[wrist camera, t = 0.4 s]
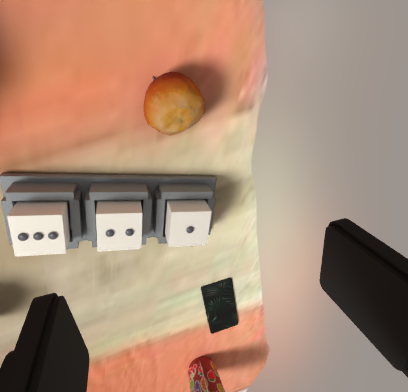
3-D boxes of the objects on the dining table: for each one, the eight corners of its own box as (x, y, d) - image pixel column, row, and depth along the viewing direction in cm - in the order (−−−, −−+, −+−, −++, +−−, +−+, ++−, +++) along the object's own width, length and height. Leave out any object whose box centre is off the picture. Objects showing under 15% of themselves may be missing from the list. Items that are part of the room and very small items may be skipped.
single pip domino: (167, 199, 43) (171, 212, 39) (204, 199, 45) (212, 211, 41) (164, 232, 45) (168, 248, 42) (200, 231, 47) (206, 245, 43)
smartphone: (231, 278, 59) (238, 324, 66) (230, 275, 60) (237, 321, 67) (200, 288, 58) (211, 334, 65) (199, 284, 59) (209, 330, 66)
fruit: (193, 52, 37) (211, 90, 33) (192, 100, 44) (207, 137, 40) (132, 59, 35) (143, 100, 32) (141, 108, 42) (151, 147, 38)
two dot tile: (97, 200, 40) (95, 214, 36) (140, 199, 42) (142, 213, 38) (99, 235, 42) (97, 252, 39) (139, 233, 44) (141, 249, 41)
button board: (2, 172, 39) (-11, 186, 35) (214, 176, 48) (222, 186, 44) (15, 239, 43) (5, 257, 39) (206, 230, 52) (213, 244, 48)
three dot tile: (17, 201, 37) (6, 217, 33) (67, 200, 39) (61, 215, 35) (24, 238, 40) (14, 257, 36) (70, 236, 41) (65, 254, 38)
